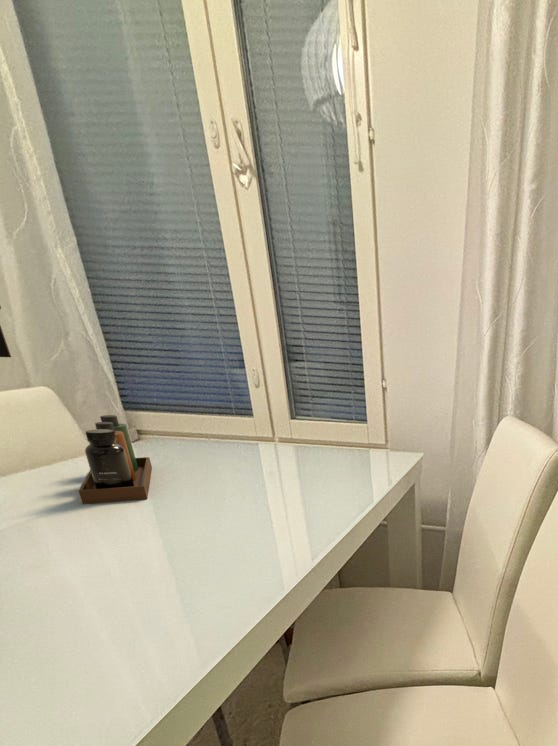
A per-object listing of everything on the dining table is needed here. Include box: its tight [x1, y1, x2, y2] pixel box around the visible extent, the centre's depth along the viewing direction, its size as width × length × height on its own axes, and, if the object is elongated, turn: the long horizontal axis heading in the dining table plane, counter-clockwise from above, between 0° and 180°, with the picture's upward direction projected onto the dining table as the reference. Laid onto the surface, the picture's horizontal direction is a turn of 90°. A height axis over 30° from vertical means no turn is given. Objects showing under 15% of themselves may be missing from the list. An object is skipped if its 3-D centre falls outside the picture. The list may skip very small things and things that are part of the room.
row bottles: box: [94, 414, 138, 481], centre depth 122 cm, size 6×16×12 cm, turn 26°
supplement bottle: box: [84, 428, 134, 489], centre depth 111 cm, size 7×7×12 cm
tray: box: [77, 456, 153, 505], centre depth 120 cm, size 11×29×3 cm, turn 26°
